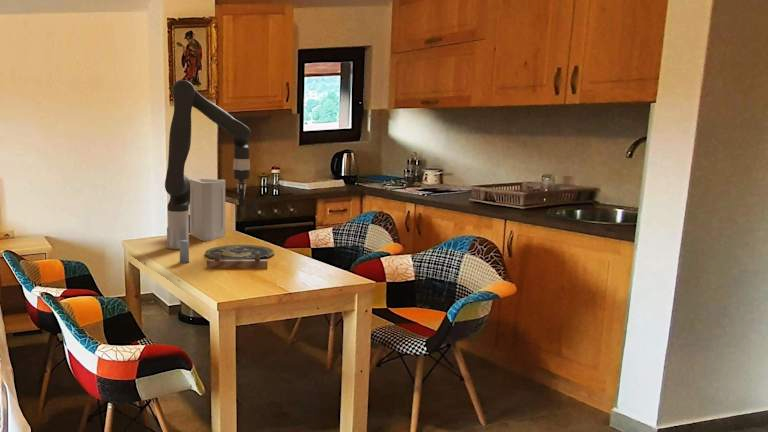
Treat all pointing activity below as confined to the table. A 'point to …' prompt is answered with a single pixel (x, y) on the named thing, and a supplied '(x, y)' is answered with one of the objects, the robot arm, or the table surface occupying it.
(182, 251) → the dowel
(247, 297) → the table surface
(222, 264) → the bench stop
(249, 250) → the decorative plate
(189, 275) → the table surface
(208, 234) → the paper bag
